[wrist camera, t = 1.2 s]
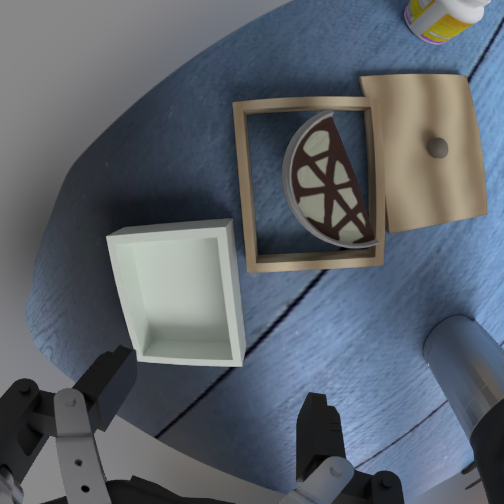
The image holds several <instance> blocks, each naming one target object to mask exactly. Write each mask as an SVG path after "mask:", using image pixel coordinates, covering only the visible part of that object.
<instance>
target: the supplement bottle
mask: <svg viewBox="0 0 504 504" xmlns="http://www.w3.org/2000/svg"><path fill="white" fill-rule="evenodd" d="M490 1H491V0H411V1H410V2H409V3H408V5H407V6H406V8H405V11H404V17H405V21H406V23H407V25H408V27H409V28H410V30H411V31H412V32H413V33H414V34H415V35H416V36H417V37H419V38H420V39H421V40H423V41H425V42H427V43H430V44H435V45H438V44H443V43H445V42H446V41H448V40H450V39H451V38H453V37H454V36H456V35H457V34H459V33H460V32H462V31H464V30H465V29H467V28H468V27H470V26H471V25H473V24H475V23H476V22H478V21H479V20H480V19H481V18H482V17H483V14H484V6H485V5H487V4H488V3H489V2H490Z"/></svg>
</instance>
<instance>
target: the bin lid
mask: <svg viewBox="0 0 504 504" xmlns="http://www.w3.org/2000/svg"><path fill="white" fill-rule="evenodd" d="M359 83H360V87H361V90H362V94H363V97H371V98H379V102H380V111H381V122H382V134H383V148H384V168H385V218H386V227H387V232H388V233H389V234H391V233H396V232H401V231H407V230H412V229H417V228H422V227H427V226H432V225H437V224H442V223H447V222H452V221H458V220H463V219H468V218H473V217H478V216H483V215H487V194H486V181H485V171H484V162H483V154H482V147H481V141H480V135H479V129H478V124H477V118H476V114H475V109H474V104H473V100H472V96H471V92H470V88H469V84H468V81H467V77H466V75H448V74H395V75H376V76H362V77H360V78H359Z"/></svg>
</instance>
